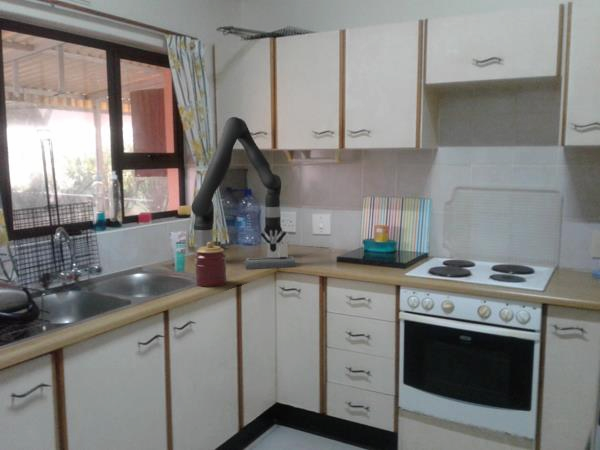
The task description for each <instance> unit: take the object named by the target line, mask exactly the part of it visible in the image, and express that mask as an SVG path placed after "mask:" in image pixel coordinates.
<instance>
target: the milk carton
mask: <svg viewBox="0 0 600 450" xmlns="http://www.w3.org/2000/svg"><path fill="white" fill-rule="evenodd" d="M280 233H281V232H280ZM280 233H279V235H278V236H277V239H278V238H279V237H280V235H281V234H280ZM266 238H267V239H268V240H270V239H269V236H268V235H267V234H266ZM280 242H284V241H283V239H282V240H281V241H280ZM266 244H267V247H266V248H267V257H279V256H278V243H277V244H276V250H275V252H272V251H271V250H270V243H267V242H266Z"/></svg>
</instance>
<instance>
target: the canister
mask: <svg viewBox="0 0 600 450" xmlns="http://www.w3.org/2000/svg"><path fill="white" fill-rule="evenodd" d="M224 251H225V249H224V248H222V247H221V246H219V245H214V242H213V243H212V242H208V243H207V246H203V247H200V248H199V249H198V250H197V252H198V253H197V255H195V254H194V259H195V258H196V263H195V262H194V266H195V269H194V270H195V271H194V272H195V278H194V279H195V280H194V281H195V284H196V285H197V286H200V287H219V286H224V285H225V284H226V283H227V279H228V278H227V262H226V257H227V255H226V253H224Z"/></svg>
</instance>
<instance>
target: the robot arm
mask: <svg viewBox="0 0 600 450" xmlns="http://www.w3.org/2000/svg"><path fill="white" fill-rule="evenodd" d="M222 129H223V130H222V133H221V137H220V139H219V143H218V144H217V147H216V148H215V151H214V153H213V156H212V158H211V160H210V163H209V165H208V168H207V170H206V173H205V175H204V177H203V180H202V182H201V183H202V184H201V186H200V188H199V190H198V192H197V194H196V196H195V197H194V199H193V201H192V203H191V212H192V213H193V214H194V215H195V221H194V224H193V237H194V238H193V239H194V241H193V243H194V256H195V255H197V253H198V252H197V250H198V249H199V248H200V247H203V246H207V243H208V242H212V243H213V244H214V223H215V221H214V220H215V219H214V218H215V207H214V203H213V197H214V195H215V193H216V191H217V190H218V189H219V186H220V185H221V184H222V183H223V181H224V180H225V177H226V176H227V173H228V172H229V168H230V166H231V162H232V157H233V155H232V154H233V150H234V149H233V148H234V146H235V145H236V142H237V141H239V143H240V145H241V146H242V147H243V149H244V151H245V153H246V156H247V158H248V160H249V161H250V163H251V165H252V166H253V168H254V170H255V171H256V173H257V174H258V177H259V179H260V181H261V183H262V185H263V186H264V188H266V189H267V193H266V195H265V199H264V200H265V205H264V206H265V209H264V229H263V231H261V232H259V235H260V236H261V237H262V238H263V239H264V241H265V242H266V244H267V243H270V250H271V251H272V252H275V250H276V244H277V243H278V242H280V241H281V240H282V241H283V239H284V237H286V235H287V232H286V231H284V230H283V228H282V226H281V224H282V223H281V221H282V219H281V216H282V215H281V203H280V202H281V198H280V197H281V191H282V179H281V178H280V176H279V175H277V174H274V173H273V172H272V170H271V165H270V163H269V162H268V160H267V158H266V157H265V155H264V154H263V153H262V151H261V149H260V148H259V147H258V145H257V144H256V142H255V139H254V138H253V136H252V134H251V132H250V130H249V127H248V125H247V123H246V121H245V120H243V119H242V118H239V117H238V116H237V117H236V116H232V117H230V118H229V117H228V119H227V120H226V121H225V124H224V126H223V128H222ZM280 232H281V233H280ZM279 233H280V234H281V235H280V237H279V238H278V239H277V236H278V235H279ZM267 235H268V236H269V239H270V240H268V239H267ZM195 263H196V258H195V257H194V264H195Z"/></svg>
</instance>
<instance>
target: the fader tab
mask: <svg viewBox="0 0 600 450" xmlns="http://www.w3.org/2000/svg"><path fill="white" fill-rule="evenodd" d="M288 245H289V244H288V243H287V242H286V241H283V242H278V256H279V257H280V259H286V257H289V256H288V255H289V253H288V251H289V250H288V249H289V248H288V247H289V246H288Z"/></svg>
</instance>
